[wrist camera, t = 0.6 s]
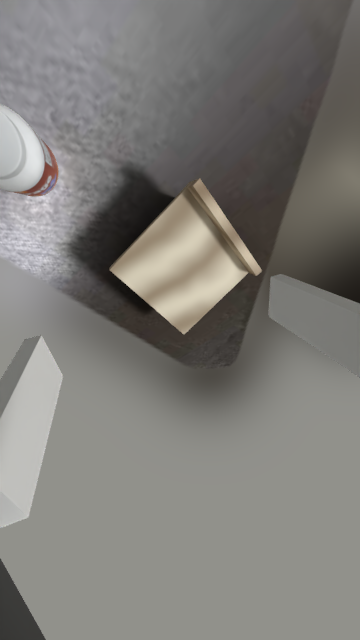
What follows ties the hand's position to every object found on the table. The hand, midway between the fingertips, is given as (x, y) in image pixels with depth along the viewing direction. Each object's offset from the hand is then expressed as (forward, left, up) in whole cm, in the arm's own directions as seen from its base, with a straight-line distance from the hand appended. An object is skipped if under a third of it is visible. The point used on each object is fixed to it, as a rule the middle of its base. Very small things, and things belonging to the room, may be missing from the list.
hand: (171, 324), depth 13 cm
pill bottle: (-15, -1, -23) cm, 28 cm away
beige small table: (+5, +4, -23) cm, 24 cm away
